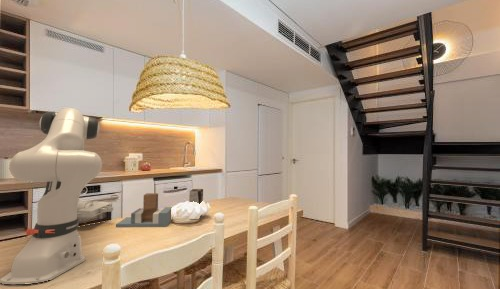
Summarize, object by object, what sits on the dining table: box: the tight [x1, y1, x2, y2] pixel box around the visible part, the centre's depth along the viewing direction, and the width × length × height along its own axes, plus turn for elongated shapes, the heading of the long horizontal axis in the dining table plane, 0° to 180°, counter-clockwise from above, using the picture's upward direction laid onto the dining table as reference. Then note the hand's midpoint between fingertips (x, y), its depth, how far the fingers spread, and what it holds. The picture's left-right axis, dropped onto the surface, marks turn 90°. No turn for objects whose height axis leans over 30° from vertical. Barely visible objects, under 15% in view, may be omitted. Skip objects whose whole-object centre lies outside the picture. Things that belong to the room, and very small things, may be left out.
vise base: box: [115, 206, 173, 228], centre depth 132 cm, size 13×25×7 cm, turn 94°
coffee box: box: [188, 188, 204, 204], centre depth 145 cm, size 9×6×16 cm
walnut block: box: [142, 192, 159, 222], centre depth 133 cm, size 5×6×14 cm
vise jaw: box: [130, 207, 143, 223], centre depth 132 cm, size 11×5×5 cm, turn 4°
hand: (112, 209), depth 130 cm, fingers closed
